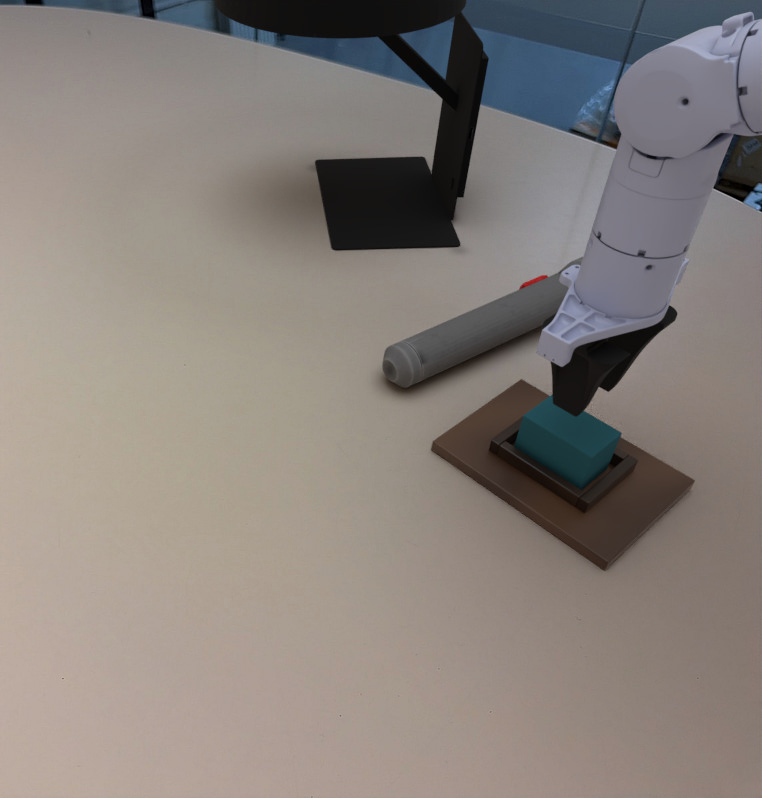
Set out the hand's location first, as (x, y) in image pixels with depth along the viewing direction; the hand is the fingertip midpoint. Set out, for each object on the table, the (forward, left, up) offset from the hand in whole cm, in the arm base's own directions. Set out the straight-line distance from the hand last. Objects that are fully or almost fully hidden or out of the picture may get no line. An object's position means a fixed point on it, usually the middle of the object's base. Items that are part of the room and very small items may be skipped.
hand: (583, 395), depth 60 cm
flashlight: (+14, -11, -8) cm, 19 cm away
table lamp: (+43, -18, -8) cm, 47 cm away
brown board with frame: (0, 0, -8) cm, 8 cm away
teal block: (0, 0, -7) cm, 7 cm away
